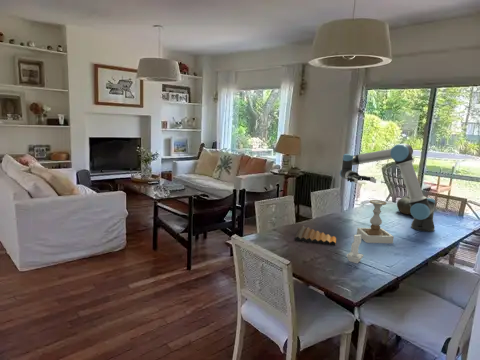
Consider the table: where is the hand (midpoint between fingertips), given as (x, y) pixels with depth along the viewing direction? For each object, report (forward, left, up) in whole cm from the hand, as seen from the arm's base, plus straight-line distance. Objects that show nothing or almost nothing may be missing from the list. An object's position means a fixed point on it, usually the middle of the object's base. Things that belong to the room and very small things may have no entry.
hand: (366, 181), depth 242 cm
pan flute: (+37, +17, -36) cm, 54 cm away
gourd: (-61, -47, -35) cm, 85 cm away
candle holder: (-1, +18, -34) cm, 39 cm away
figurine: (+26, +56, -35) cm, 71 cm away
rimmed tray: (-1, +18, -35) cm, 40 cm away
